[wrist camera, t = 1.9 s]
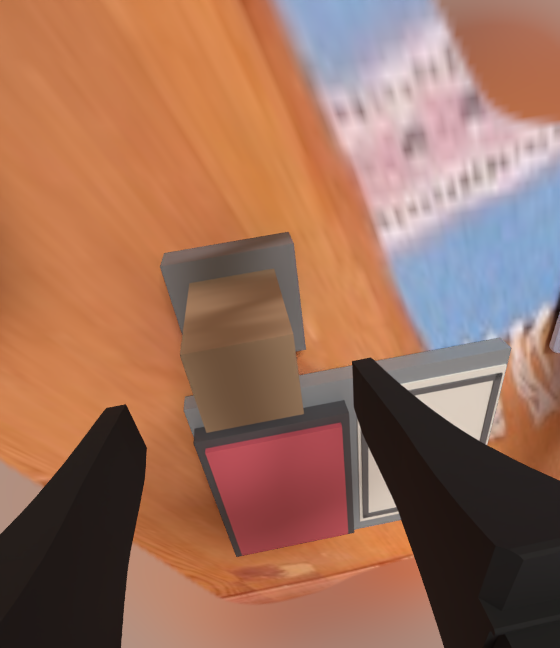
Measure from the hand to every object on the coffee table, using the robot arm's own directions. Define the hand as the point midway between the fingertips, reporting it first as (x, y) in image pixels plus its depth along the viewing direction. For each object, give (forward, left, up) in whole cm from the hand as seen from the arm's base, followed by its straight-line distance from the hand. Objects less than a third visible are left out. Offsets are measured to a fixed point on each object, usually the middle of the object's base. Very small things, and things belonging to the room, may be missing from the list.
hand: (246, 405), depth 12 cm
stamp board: (-5, +13, -7) cm, 16 cm away
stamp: (0, 0, -7) cm, 7 cm away
